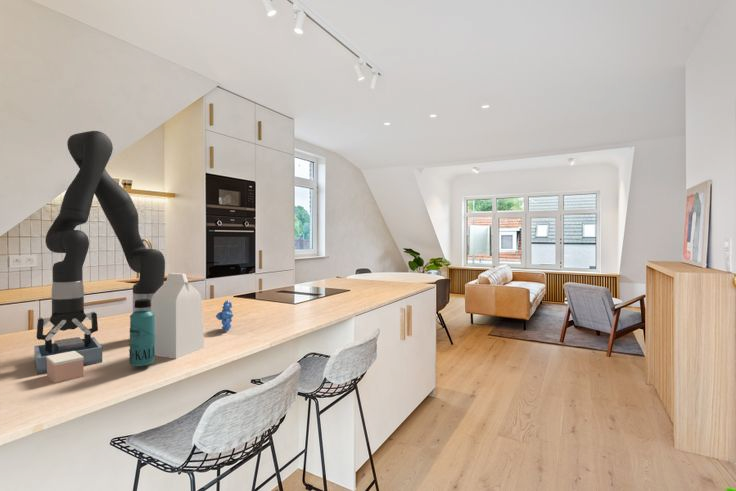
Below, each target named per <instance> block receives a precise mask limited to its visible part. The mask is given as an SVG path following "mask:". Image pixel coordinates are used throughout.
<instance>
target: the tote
mask: <svg viewBox="0 0 736 491" xmlns="http://www.w3.org/2000/svg"><path fill="white" fill-rule="evenodd" d="M81 339H82V340H83V341H84V338H81ZM33 349H34V354H33V355H34V364H35V367H36V368H35V369H36V373H37V375H42V374H47V359H46V356H49V355H54V342H52V353H48V351H47V352H46V350H45V343H44V344H38V345H34V348H33ZM76 352H77V353H79V354H80V355H82V356H83V357H84V360H83V367H84V366H88V365H94V364H99V363H103V346H102V345H101V344H100V342H99V341H98V340H97V339H96V338H95V337H92V336H91V343H90V345H88V347H85V346H84V350H79V351H76Z"/></svg>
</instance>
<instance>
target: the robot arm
mask: <svg viewBox="0 0 736 491" xmlns="http://www.w3.org/2000/svg"><path fill="white" fill-rule="evenodd" d="M66 146H67V150H68V152H69V155H71V157H72V159H73V161H74V163H75V164H76V165H77V167H78V169H79V170H78V172H77V174H76V176H75V177H74V178H73V180H72V182H71V183H70V184H69V186H67V189H66V190H65V193H64V195H63V198H62V202H61V206H60V210H59V213H58V214H57V215H58V216H57V217H56V218H55V219H54V221H53V223H52V224H51V225H50V227H49V229H48V230H47V232H46V235H45V245H46V246H45V247H46V248H47V249H48V250H49V251H51V252H52V253H56V254H57V253H58V254H65V256H63V260H62V261H60V260H59V261H57V262H54V263H53V265H52V286H51V315H50V317H38V318H37V323H36V324H37V325H36V336H35V337H36V339H37V340H40V341H41V340H42V341H44V344H45V350H46V352H47V351H48V353H52V343H53V340H52V338H54V336H55V335H56V334H57V333H58V332H59V331H68V330H76V329H77V328H78V329H80V330H81V331H82V332H83V333H84V335H83V339H84V346H85V347H88V345H90V343H91V337H92V334H93V333H96V332H97V331H98V330H99V327H98V326H99V325H98V314H97V313H96V312H95V311H92V312H89V313H88V312H87V313H85V288H84V287H85V286H84V282H83V279H84V277H83V275H84V274H83V273H84V272H83V270H84V269H83V267H84V265H85V264H84V263H85V261H86V258H87V254H88V251H89V247H90V240H89V237H88V235H87V234H86V232H84V231H83V230H80V229H76V227H78V226H80V225H84V224H86V223H87V222H88V220H89V217H90V212H91V208H92V204H93V200H94V197H96V200H97V201H98V204H99V205H100V208H101V210H102V212H103V214H104V215H105V217H106V219H107V221H108V223H109V224H110V226H111V228H112V230H113V232H114V234H115V236H116V238H117V239H118V241H119V243H120V247H121V248H122V252H123V253H124V257H125V259H126V262H127V265H128V266H129V268H130V269H131V270H132V271H134V272H135V273H137V274H139V280H138V281H137V282H136V283H134V284H133V286H132V313H133V312H135V311H139V310H151V307H147V308H135V307H134V305H135V301H136V300H140V299H150V301H151V300H152V297H153V295H154V294H155V292H156V291H157V290H158V289H159V288H160V287H161V286H162V285H163V284H164V283H165V276H166V274H165V273H166V272H165V271H166V258H165V255H164V254H163V252H162V251H160V250H158V249H154V248H147V246H146V245H145V242H144V240H143V239H142V237H141V235H140V230H139V229H140V228H139V213H138V210H137V208H136V205H135V203H134V202H133V200H132V197H131V196H130V194H129V193H128V191H127V190H126V189H124V187H122V185H120V184H119V183H118V182H117V181H116V180H114V178H113V177H111V175H110V174H109V173H108V171H107V169H106V167H107V165H108V163H109V161H110V158H111V156H112V154H113V150H114V147H113V146H114V145H113V143H112V141H111V138H109V136H108V135H107V134H106V133H104V132H102V131H99V130H89V131H84V132H83V131H82V132H79V133H74V134H71V135H70V136H69V137H68V139H67V145H66ZM86 318H88V320H89V321H90V322H91V323H90V324H91V328H88V327H87V326H86V325H84V324H83V322H84V320H86ZM49 322H50V323H51V324H52V325H53V326H52V327H51V328H50V330H49V331H48V332H47V333H46V334H44V327H45V326H47V325H48V323H49Z"/></svg>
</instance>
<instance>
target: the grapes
mask: <svg viewBox="0 0 736 491" xmlns="http://www.w3.org/2000/svg"><path fill="white" fill-rule="evenodd" d="M232 307H233V305H232V302H231V301H230V300H228V299H227V300H226V301H225V300H224V302H223V306H222V307H221V308H222V309H221V311H220V312H217V313H216V315H215V317H216V319H217V320H219V321H220V322H221V325H222V327H221V328H222V330H223V331H224V332H228V331H229V330H230V329H231V327H232V324H231V322H232V321H233V319H232V318H233V317H234V313H233V311H232V310H231V309H232Z"/></svg>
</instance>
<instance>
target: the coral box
mask: <svg viewBox="0 0 736 491" xmlns="http://www.w3.org/2000/svg"><path fill="white" fill-rule="evenodd" d="M46 359H47V373H46V376H47V377H48V378H49V379H50V380H51V381H52V382H53V383H54V384H58V383H61V382H65V381H69V380H74V379H77V378H79V379H80V378H82V377H84V366H83V360H84V357H83V356H82V355H80V354H79V353H77V352H76V351H70V352H65V353H60V354H55V355H49V356H46Z"/></svg>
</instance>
